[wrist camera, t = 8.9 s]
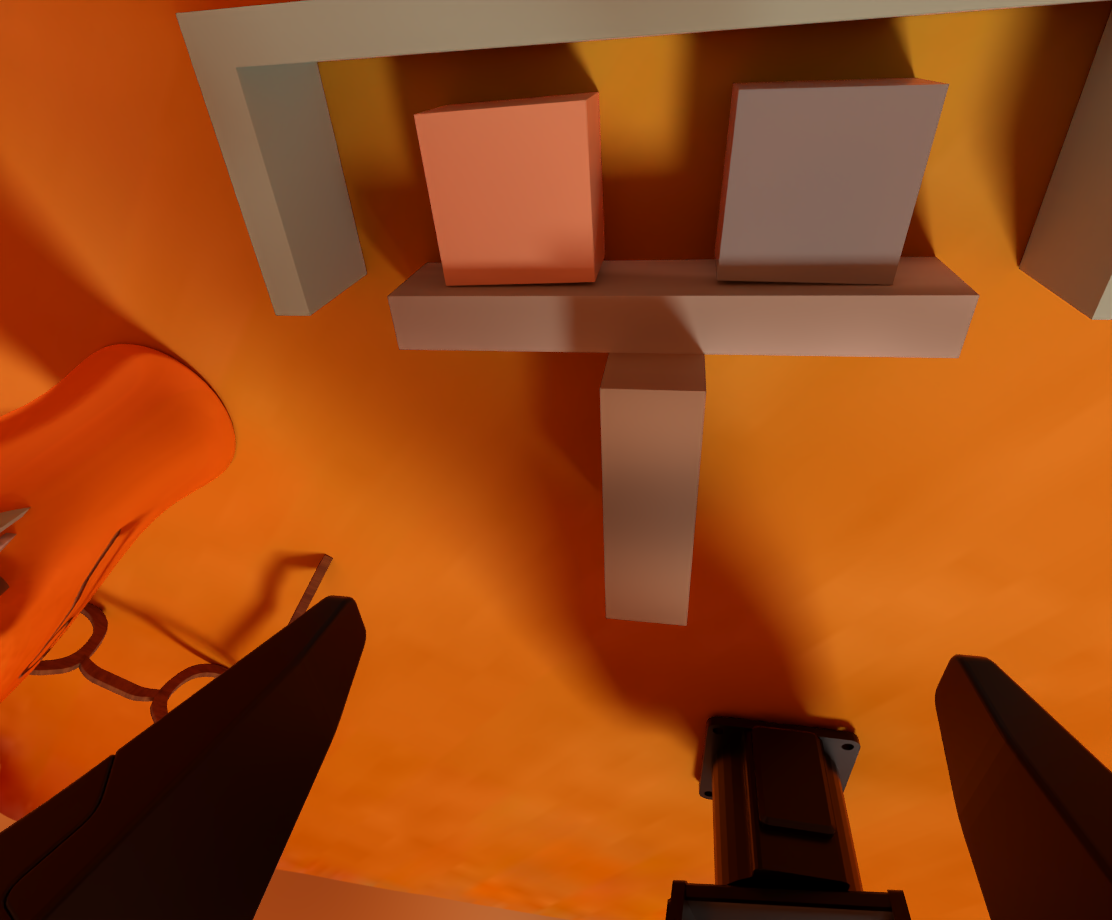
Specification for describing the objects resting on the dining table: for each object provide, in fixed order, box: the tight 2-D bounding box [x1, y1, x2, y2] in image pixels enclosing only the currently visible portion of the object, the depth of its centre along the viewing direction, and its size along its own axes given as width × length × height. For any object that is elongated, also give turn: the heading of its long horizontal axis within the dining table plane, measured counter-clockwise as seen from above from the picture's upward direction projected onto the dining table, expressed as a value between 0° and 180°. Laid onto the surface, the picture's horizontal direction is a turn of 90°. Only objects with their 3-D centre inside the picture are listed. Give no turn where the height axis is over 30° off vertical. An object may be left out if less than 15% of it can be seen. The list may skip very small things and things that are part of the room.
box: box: [175, 0, 1112, 320], centre depth 14 cm, size 6×20×4 cm, turn 94°
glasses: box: [29, 555, 333, 723], centre depth 28 cm, size 13×13×5 cm
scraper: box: [387, 257, 979, 626], centre depth 18 cm, size 9×14×5 cm, turn 94°
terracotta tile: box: [414, 92, 605, 286], centre depth 16 cm, size 4×4×2 cm
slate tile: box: [714, 78, 949, 285], centre depth 14 cm, size 4×4×2 cm
